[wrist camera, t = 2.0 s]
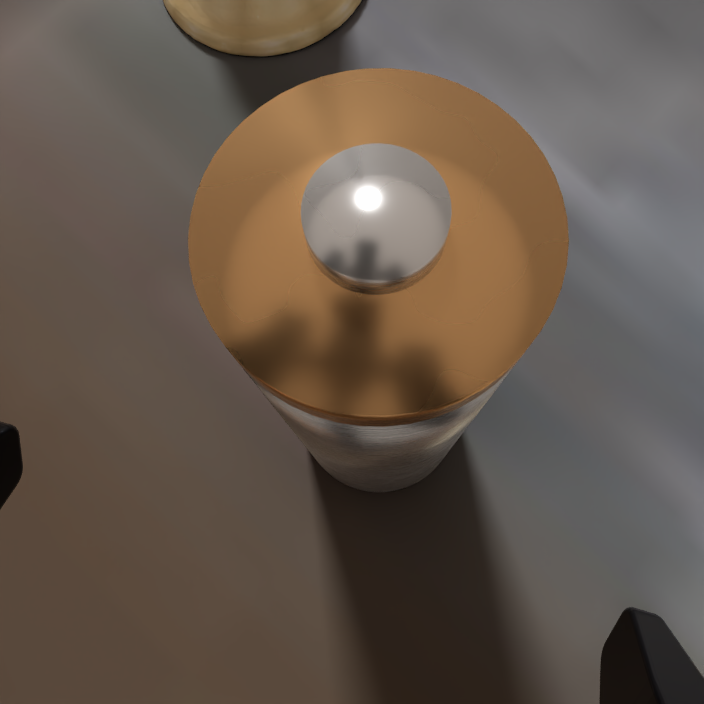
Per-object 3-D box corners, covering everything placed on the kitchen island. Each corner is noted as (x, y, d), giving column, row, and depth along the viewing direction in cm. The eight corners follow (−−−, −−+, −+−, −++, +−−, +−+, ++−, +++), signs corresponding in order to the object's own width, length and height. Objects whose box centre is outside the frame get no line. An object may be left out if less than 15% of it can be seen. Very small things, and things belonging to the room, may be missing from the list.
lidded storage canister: (384, 526, 20) (390, 500, 7) (270, 418, 21) (94, 223, 8) (487, 409, 21) (663, 194, 8) (373, 311, 22) (363, -20, 9)
